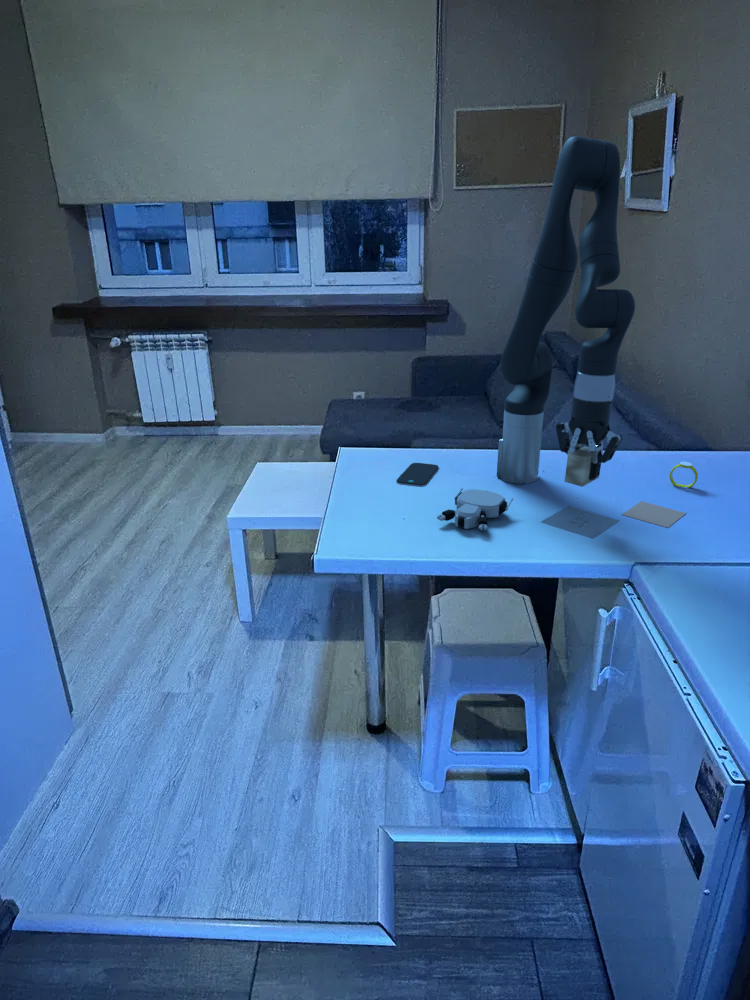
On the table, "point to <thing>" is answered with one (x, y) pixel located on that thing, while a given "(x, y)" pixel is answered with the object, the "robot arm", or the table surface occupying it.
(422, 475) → the smartphone
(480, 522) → the robot toy
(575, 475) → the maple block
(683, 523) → the table surface
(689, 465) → the watch
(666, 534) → the table surface
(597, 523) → the board
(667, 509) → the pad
